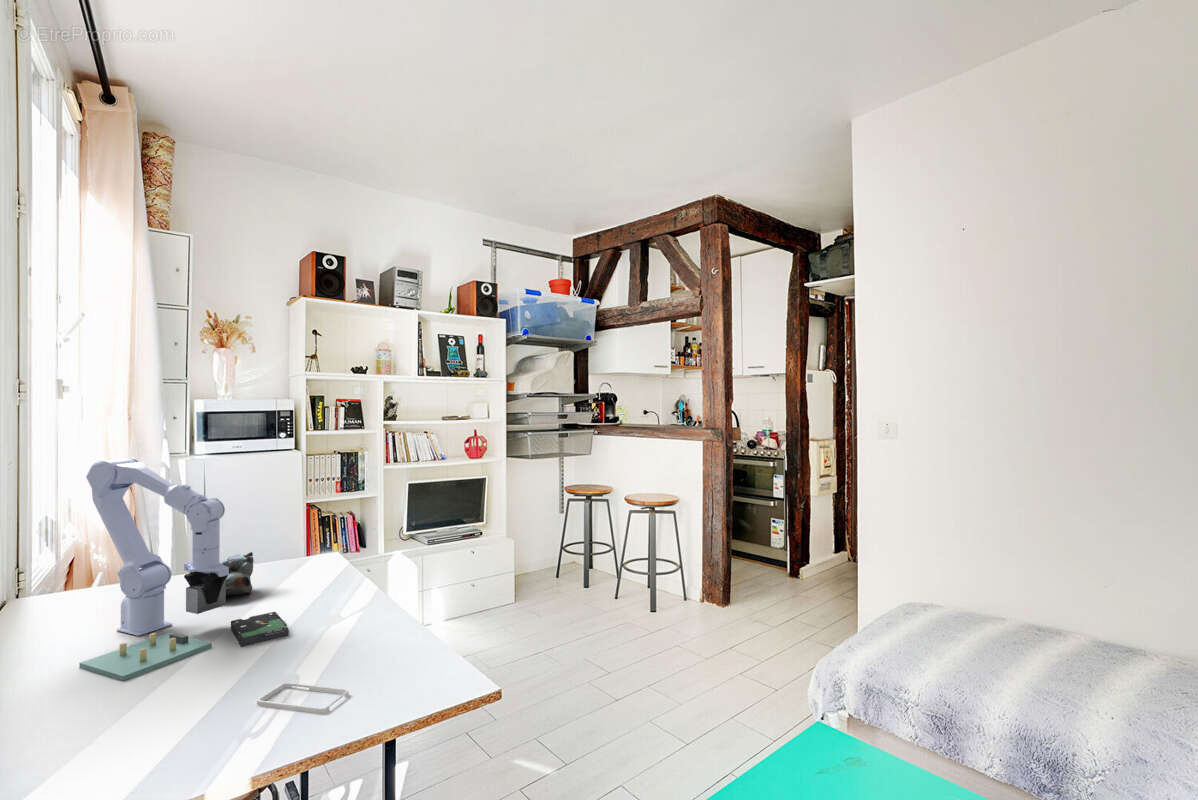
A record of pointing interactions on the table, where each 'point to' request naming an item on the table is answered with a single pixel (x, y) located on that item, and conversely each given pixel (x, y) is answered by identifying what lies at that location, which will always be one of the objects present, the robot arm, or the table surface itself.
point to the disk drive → (259, 629)
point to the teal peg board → (145, 655)
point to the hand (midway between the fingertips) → (206, 601)
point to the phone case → (299, 707)
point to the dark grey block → (202, 599)
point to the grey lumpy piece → (239, 574)
